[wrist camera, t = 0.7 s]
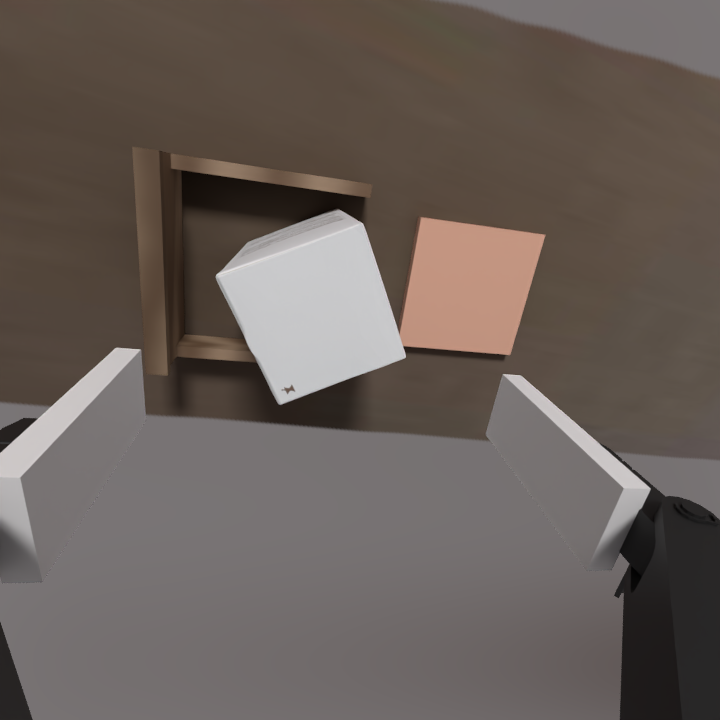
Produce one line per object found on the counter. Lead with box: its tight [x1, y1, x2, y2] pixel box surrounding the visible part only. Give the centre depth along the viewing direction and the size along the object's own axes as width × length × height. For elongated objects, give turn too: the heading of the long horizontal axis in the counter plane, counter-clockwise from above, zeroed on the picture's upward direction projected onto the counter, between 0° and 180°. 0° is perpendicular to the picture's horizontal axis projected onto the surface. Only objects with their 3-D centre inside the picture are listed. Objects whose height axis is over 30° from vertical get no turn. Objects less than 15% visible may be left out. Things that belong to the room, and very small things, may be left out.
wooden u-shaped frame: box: [132, 147, 372, 375], centre depth 34 cm, size 16×16×7 cm
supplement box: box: [216, 209, 406, 405], centre depth 31 cm, size 9×9×15 cm
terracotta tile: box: [398, 217, 545, 355], centre depth 40 cm, size 12×12×1 cm
